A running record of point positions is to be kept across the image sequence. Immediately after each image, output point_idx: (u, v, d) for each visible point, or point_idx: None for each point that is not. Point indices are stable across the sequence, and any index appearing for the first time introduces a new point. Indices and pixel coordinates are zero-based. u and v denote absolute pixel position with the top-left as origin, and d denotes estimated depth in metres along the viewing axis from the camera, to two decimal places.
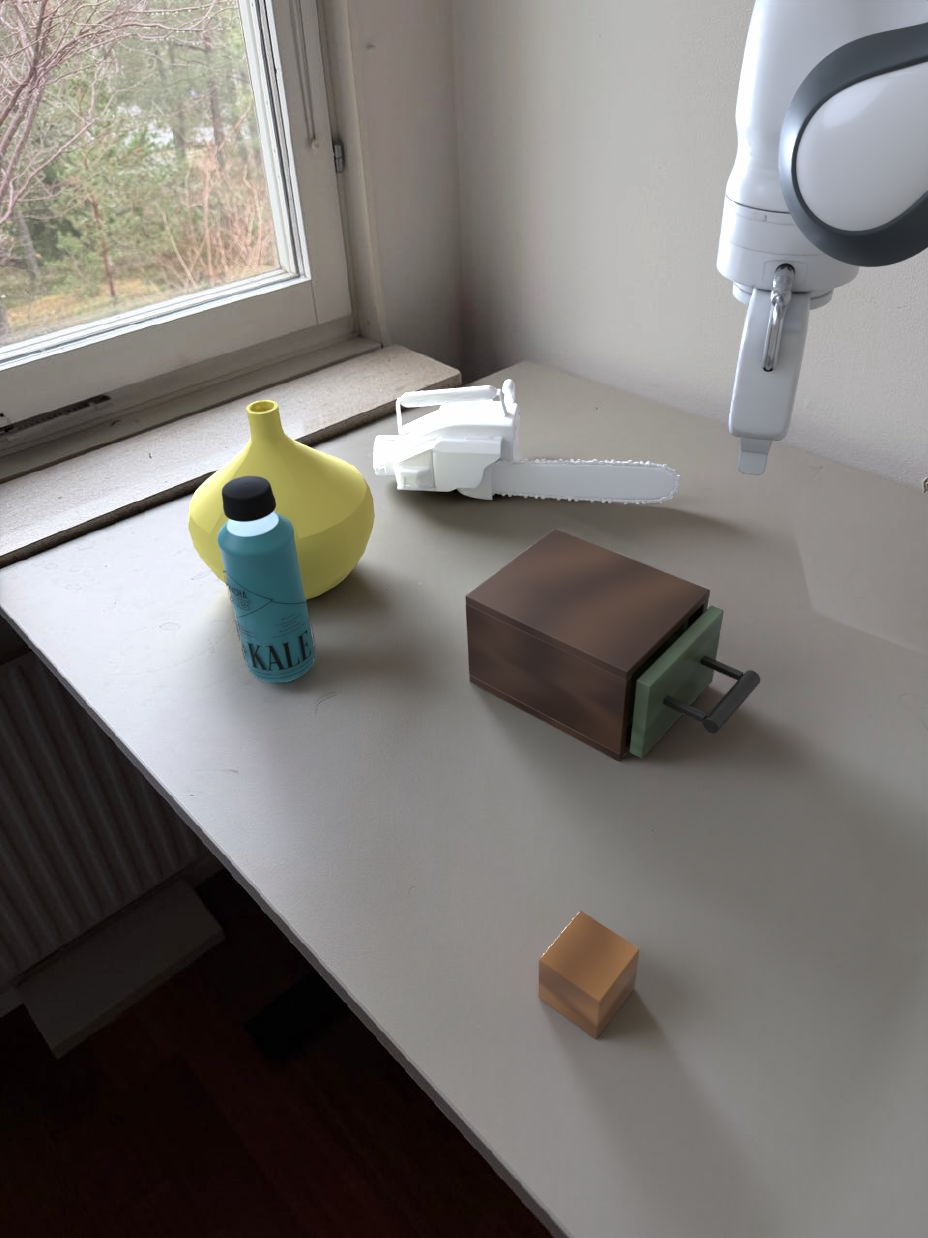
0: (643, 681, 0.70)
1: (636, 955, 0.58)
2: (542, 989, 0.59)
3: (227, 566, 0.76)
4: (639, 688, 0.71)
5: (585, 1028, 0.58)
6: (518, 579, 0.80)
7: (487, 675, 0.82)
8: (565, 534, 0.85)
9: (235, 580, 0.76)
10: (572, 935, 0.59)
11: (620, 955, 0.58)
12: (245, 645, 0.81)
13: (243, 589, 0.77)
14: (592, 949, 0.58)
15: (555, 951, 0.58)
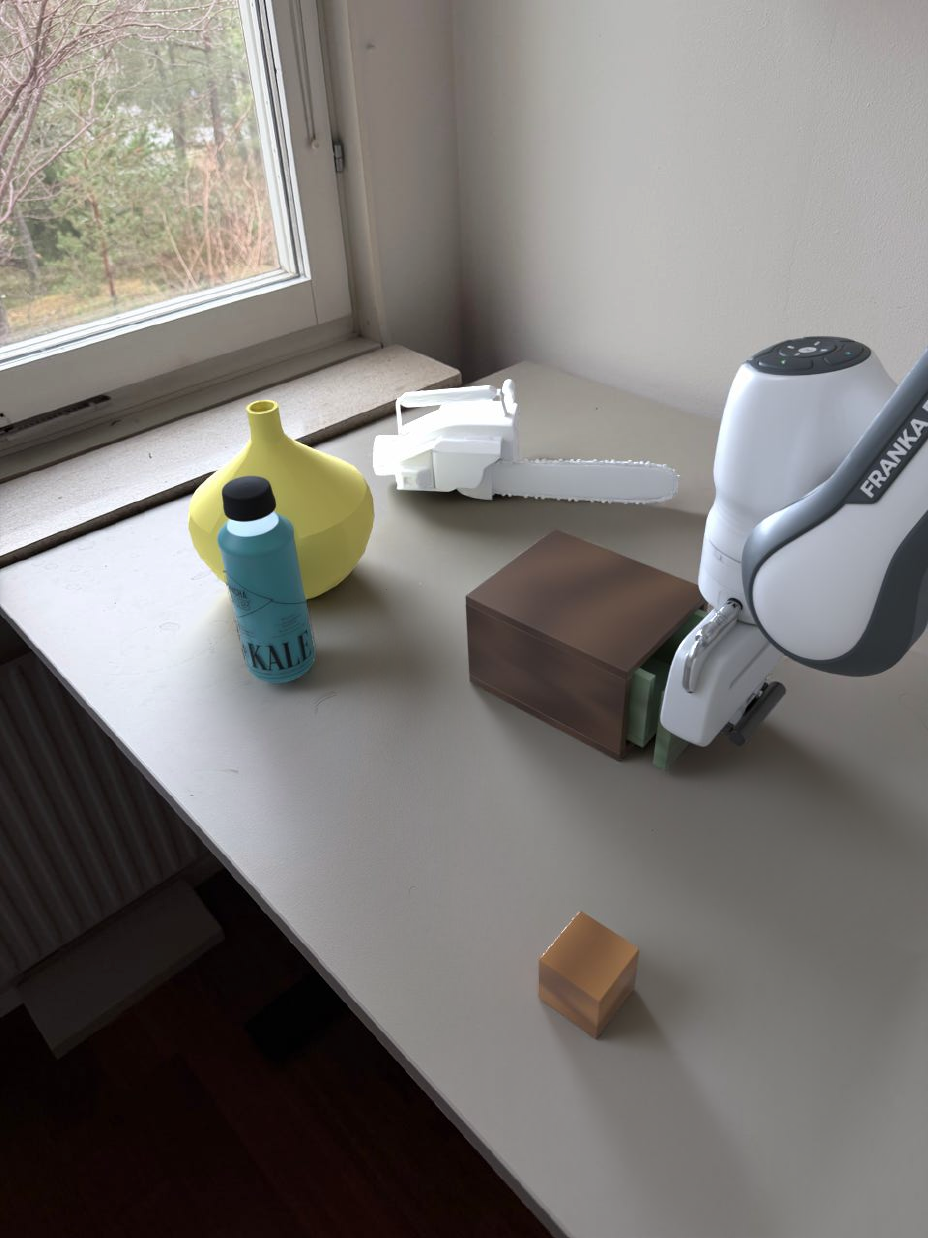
0: None
1: (636, 955, 0.58)
2: (542, 989, 0.59)
3: (227, 566, 0.76)
4: None
5: (585, 1028, 0.58)
6: (518, 579, 0.80)
7: (487, 675, 0.82)
8: (565, 534, 0.85)
9: (235, 580, 0.76)
10: (572, 935, 0.59)
11: (620, 955, 0.58)
12: (245, 645, 0.81)
13: (243, 589, 0.77)
14: (592, 949, 0.58)
15: (555, 951, 0.58)
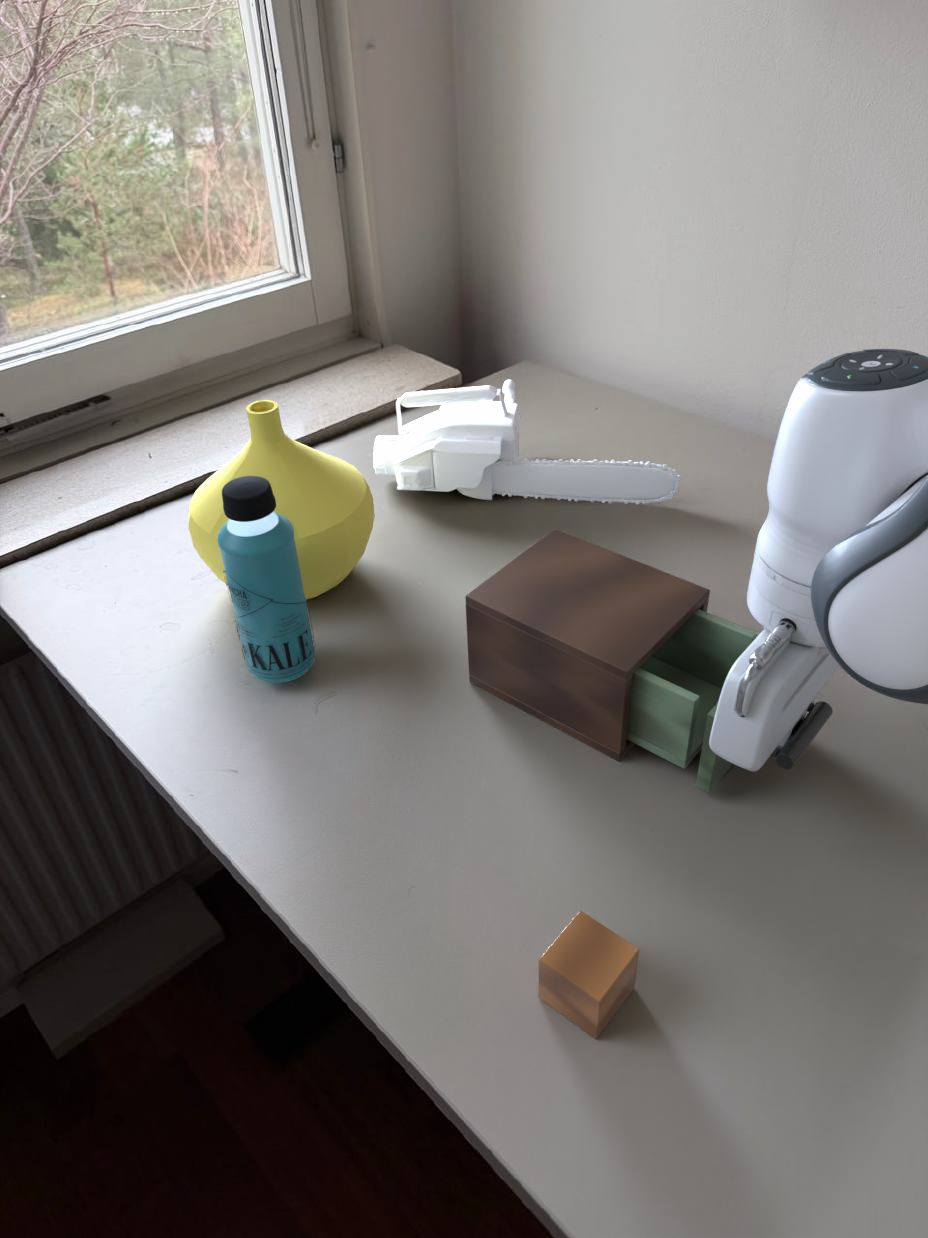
0: (714, 715, 0.67)
1: (636, 955, 0.58)
2: (542, 989, 0.59)
3: (227, 566, 0.76)
4: (710, 722, 0.68)
5: (585, 1028, 0.58)
6: (518, 579, 0.80)
7: (487, 675, 0.82)
8: (565, 534, 0.85)
9: (235, 580, 0.76)
10: (572, 935, 0.59)
11: (620, 955, 0.58)
12: (245, 645, 0.81)
13: (243, 589, 0.77)
14: (592, 949, 0.58)
15: (555, 951, 0.58)
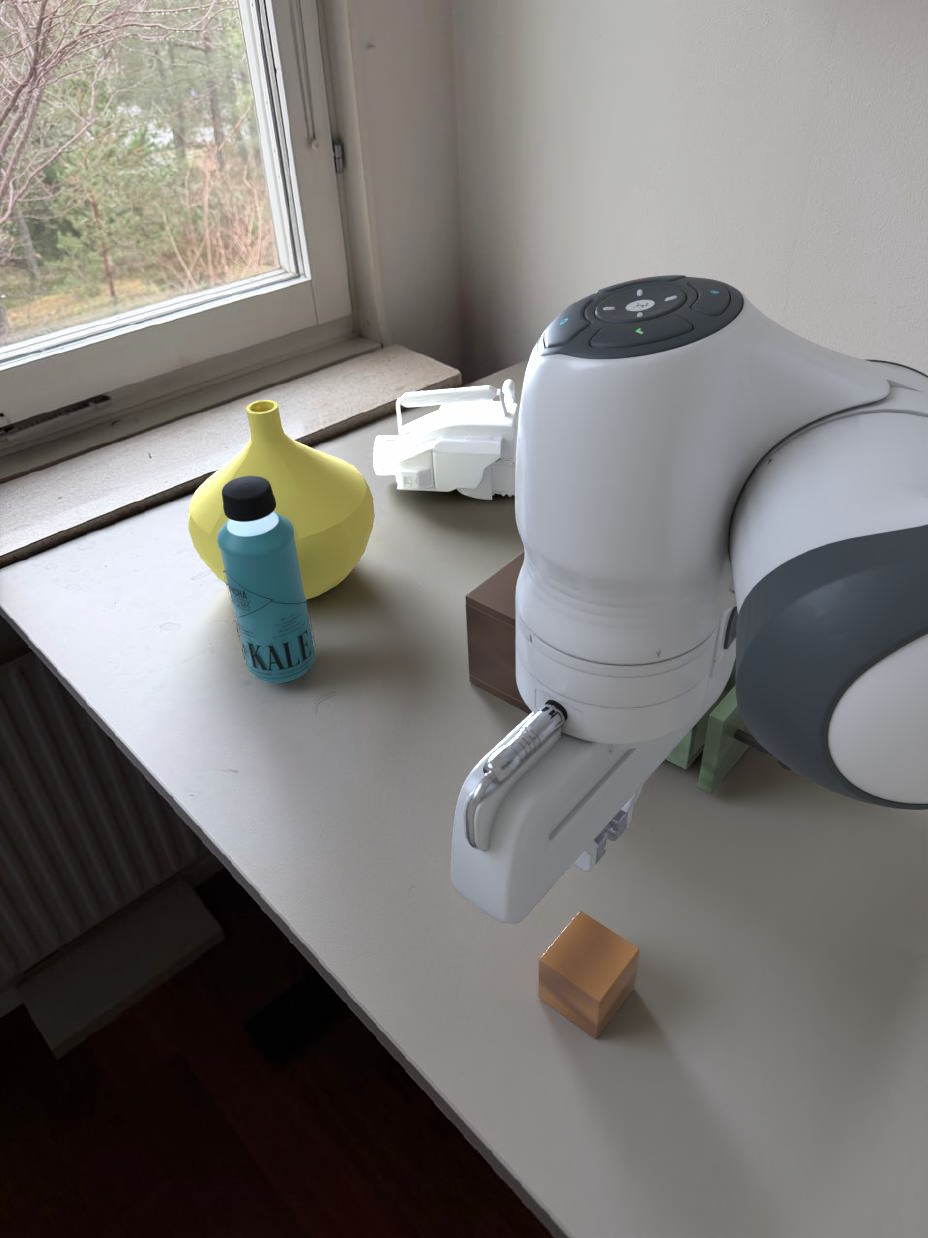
0: (716, 716, 0.67)
1: (636, 955, 0.58)
2: (542, 989, 0.59)
3: (227, 566, 0.76)
4: (712, 723, 0.68)
5: (585, 1028, 0.58)
6: None
7: (487, 675, 0.82)
8: None
9: (235, 580, 0.76)
10: (572, 935, 0.59)
11: (620, 955, 0.58)
12: (245, 645, 0.81)
13: (243, 589, 0.77)
14: (592, 949, 0.58)
15: (555, 951, 0.58)
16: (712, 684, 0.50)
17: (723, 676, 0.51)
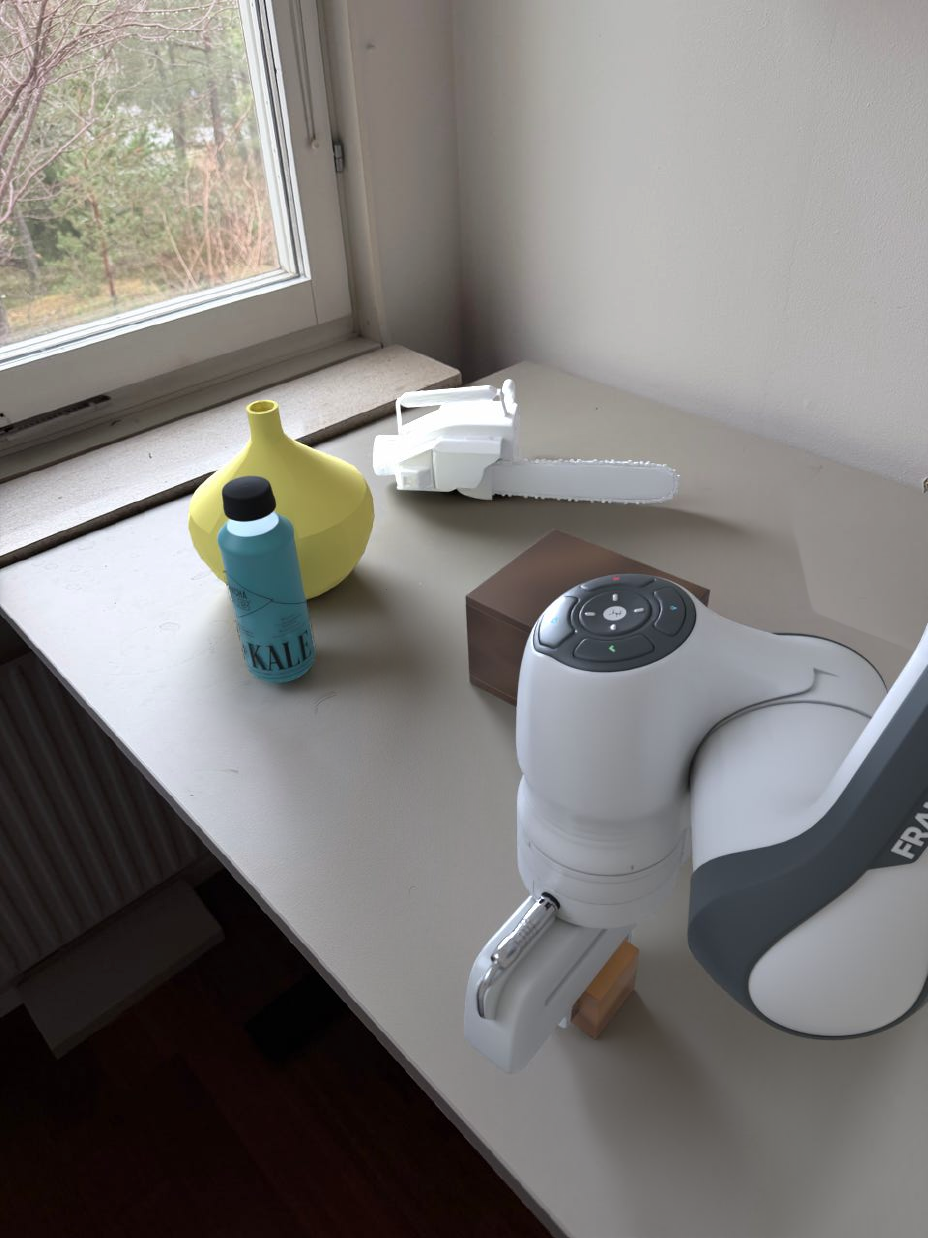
0: None
1: (636, 955, 0.58)
2: None
3: (227, 566, 0.76)
4: None
5: (585, 1028, 0.58)
6: (518, 579, 0.80)
7: (487, 675, 0.82)
8: (565, 534, 0.85)
9: (235, 580, 0.76)
10: None
11: (620, 955, 0.58)
12: (245, 645, 0.81)
13: (243, 589, 0.77)
14: None
15: None
16: None
17: None
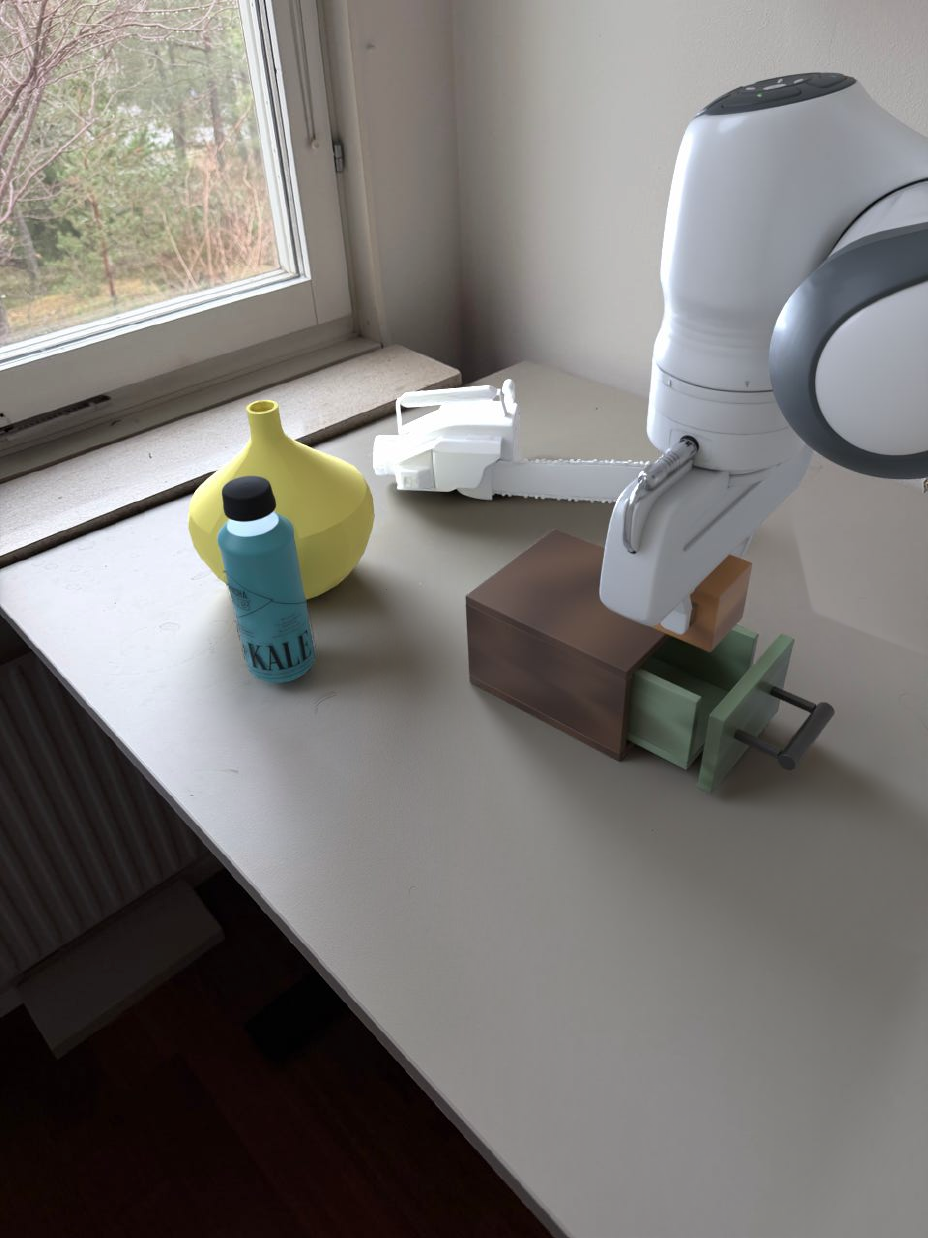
0: (716, 716, 0.67)
1: (749, 568, 0.59)
2: None
3: (227, 566, 0.76)
4: (712, 723, 0.68)
5: (699, 642, 0.60)
6: (518, 579, 0.80)
7: (487, 675, 0.82)
8: (565, 534, 0.85)
9: (235, 580, 0.76)
10: None
11: (734, 566, 0.59)
12: (245, 645, 0.81)
13: (243, 589, 0.77)
14: None
15: None
16: (796, 466, 0.60)
17: (804, 462, 0.61)
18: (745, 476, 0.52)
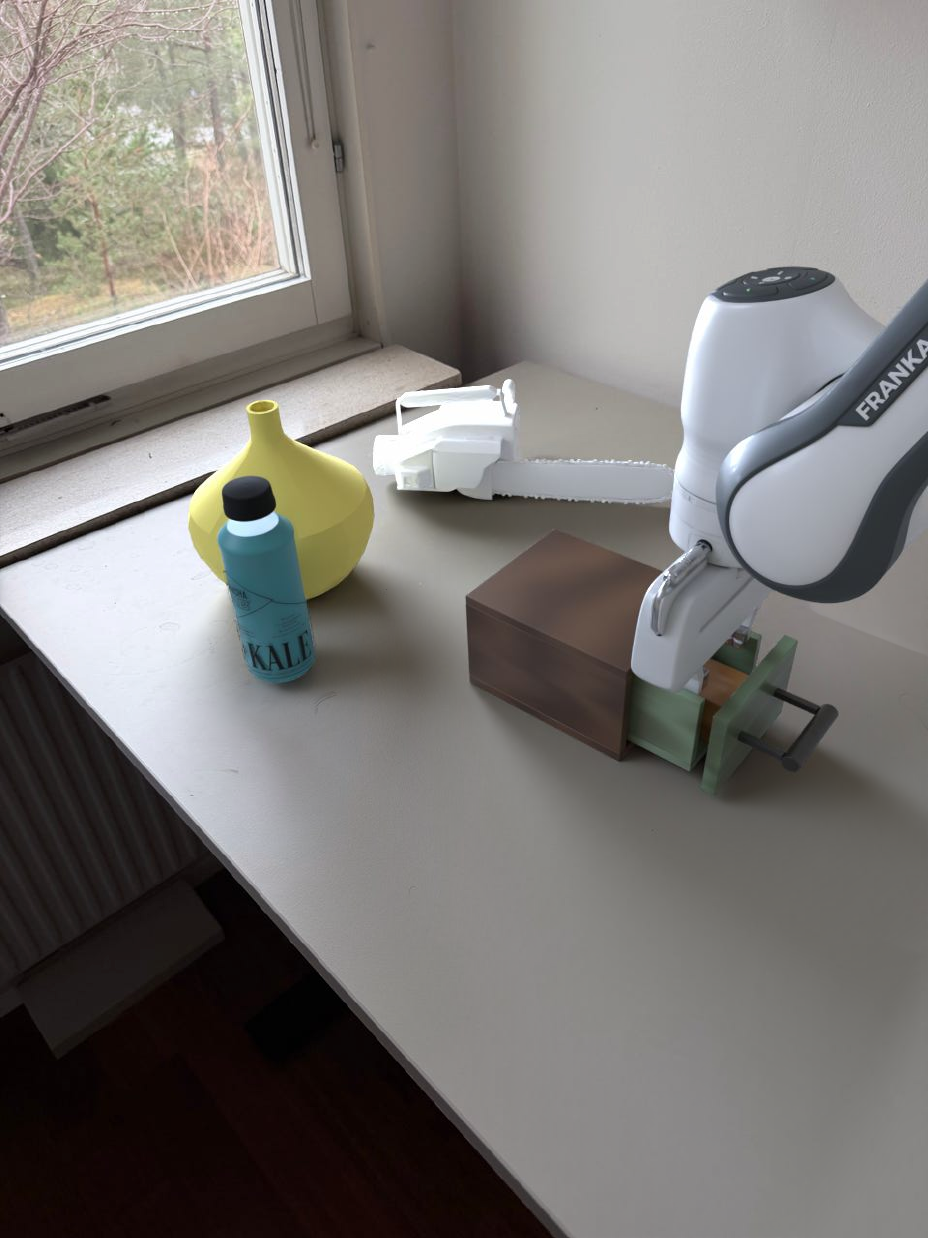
0: (720, 718, 0.67)
1: None
2: None
3: (227, 566, 0.76)
4: (715, 724, 0.67)
5: (706, 739, 0.74)
6: (518, 579, 0.80)
7: (487, 675, 0.82)
8: (565, 534, 0.85)
9: (235, 580, 0.76)
10: None
11: (735, 679, 0.73)
12: (245, 645, 0.81)
13: (243, 589, 0.77)
14: (712, 676, 0.74)
15: None
16: None
17: None
18: None
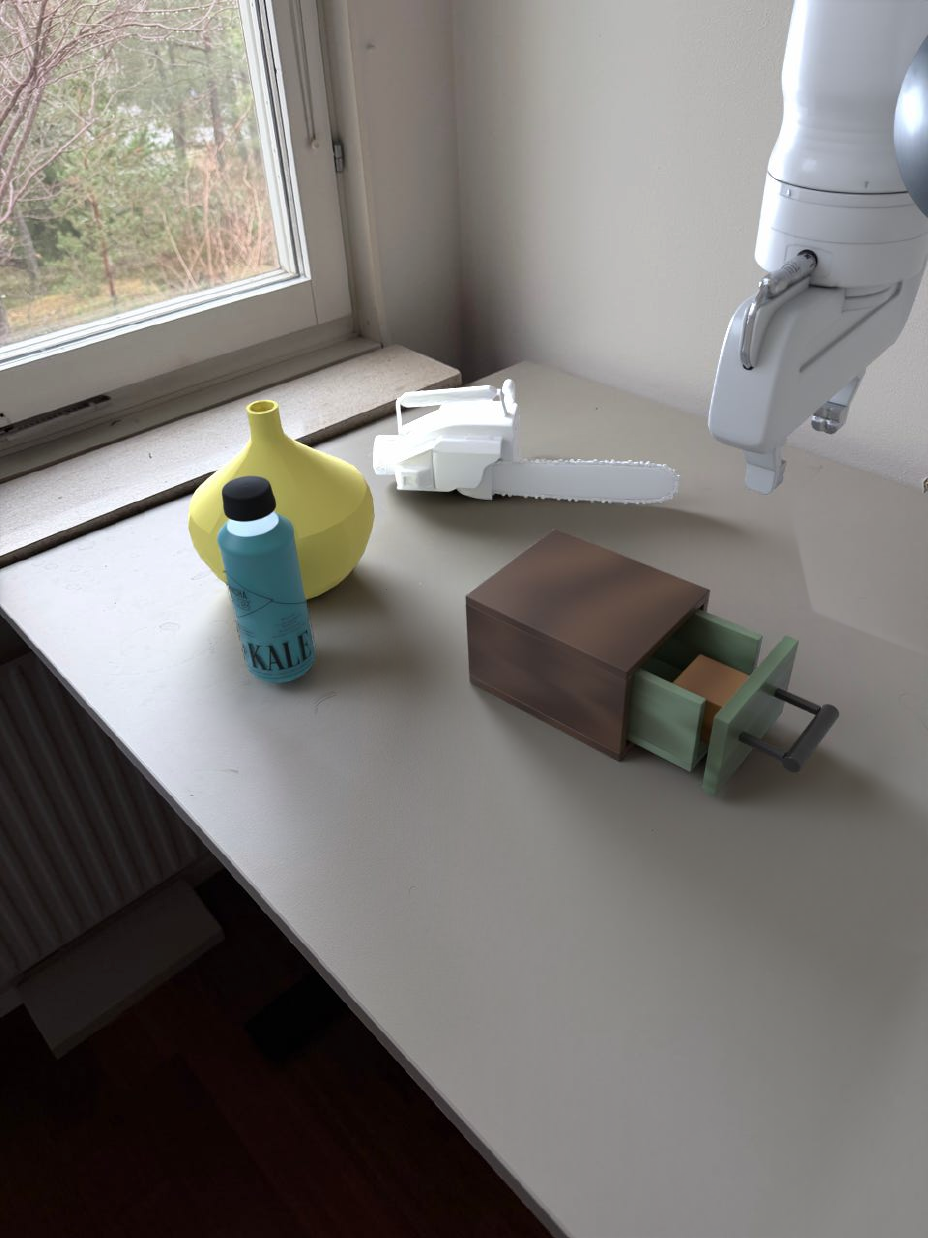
0: (721, 718, 0.67)
1: None
2: None
3: (227, 566, 0.76)
4: (716, 725, 0.67)
5: (707, 739, 0.74)
6: (518, 579, 0.80)
7: (487, 675, 0.82)
8: (565, 534, 0.85)
9: (235, 580, 0.76)
10: (696, 668, 0.75)
11: (736, 679, 0.73)
12: (245, 645, 0.81)
13: (243, 589, 0.77)
14: (713, 676, 0.74)
15: (684, 678, 0.74)
16: (897, 315, 0.59)
17: (905, 312, 0.59)
18: (861, 298, 0.50)
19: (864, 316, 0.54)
